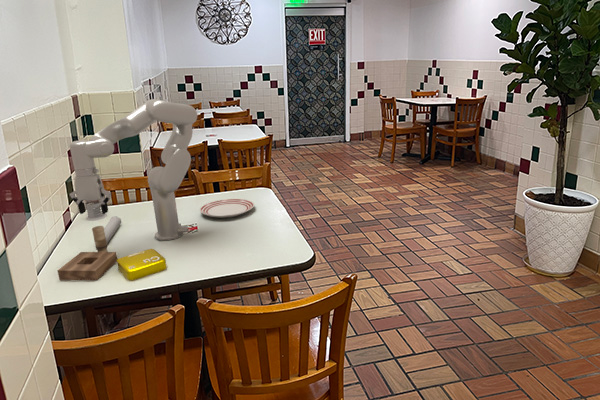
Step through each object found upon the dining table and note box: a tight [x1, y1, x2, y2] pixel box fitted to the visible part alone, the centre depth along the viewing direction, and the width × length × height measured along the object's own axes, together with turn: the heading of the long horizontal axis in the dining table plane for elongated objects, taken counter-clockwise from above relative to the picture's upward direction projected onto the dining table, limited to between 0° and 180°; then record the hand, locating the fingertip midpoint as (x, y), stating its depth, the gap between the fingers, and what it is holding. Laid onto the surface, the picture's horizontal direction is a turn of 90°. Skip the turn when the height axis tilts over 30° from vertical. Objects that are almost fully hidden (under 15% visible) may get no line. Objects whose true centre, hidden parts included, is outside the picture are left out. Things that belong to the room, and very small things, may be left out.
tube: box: [104, 216, 122, 244], centre depth 214 cm, size 5×5×25 cm
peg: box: [91, 225, 109, 252], centre depth 193 cm, size 4×4×12 cm
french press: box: [84, 200, 108, 222], centre depth 236 cm, size 10×12×25 cm
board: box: [57, 251, 118, 281], centre depth 181 cm, size 15×16×4 cm
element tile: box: [116, 248, 168, 282], centre depth 180 cm, size 15×15×5 cm
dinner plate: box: [199, 198, 255, 219], centre depth 236 cm, size 27×27×3 cm
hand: (94, 212), depth 189 cm, fingers open, 9 cm apart
